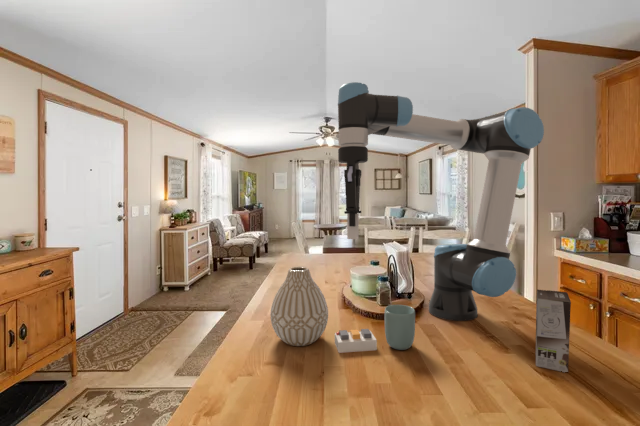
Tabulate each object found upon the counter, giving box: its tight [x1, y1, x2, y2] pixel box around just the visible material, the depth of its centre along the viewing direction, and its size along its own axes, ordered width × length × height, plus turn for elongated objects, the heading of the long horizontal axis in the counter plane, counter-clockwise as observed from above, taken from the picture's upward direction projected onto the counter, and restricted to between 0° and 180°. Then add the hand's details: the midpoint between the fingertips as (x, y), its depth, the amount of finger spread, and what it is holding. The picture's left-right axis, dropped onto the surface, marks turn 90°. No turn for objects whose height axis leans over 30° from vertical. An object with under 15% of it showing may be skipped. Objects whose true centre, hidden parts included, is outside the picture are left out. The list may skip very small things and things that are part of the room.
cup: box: [384, 304, 416, 351], centre depth 91 cm, size 8×8×10 cm
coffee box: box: [535, 289, 572, 373], centre depth 82 cm, size 9×6×16 cm
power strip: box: [334, 328, 378, 354], centre depth 92 cm, size 10×6×4 cm, turn 97°
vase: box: [269, 266, 329, 347], centre depth 96 cm, size 16×16×20 cm
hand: (353, 238), depth 90 cm, fingers closed
